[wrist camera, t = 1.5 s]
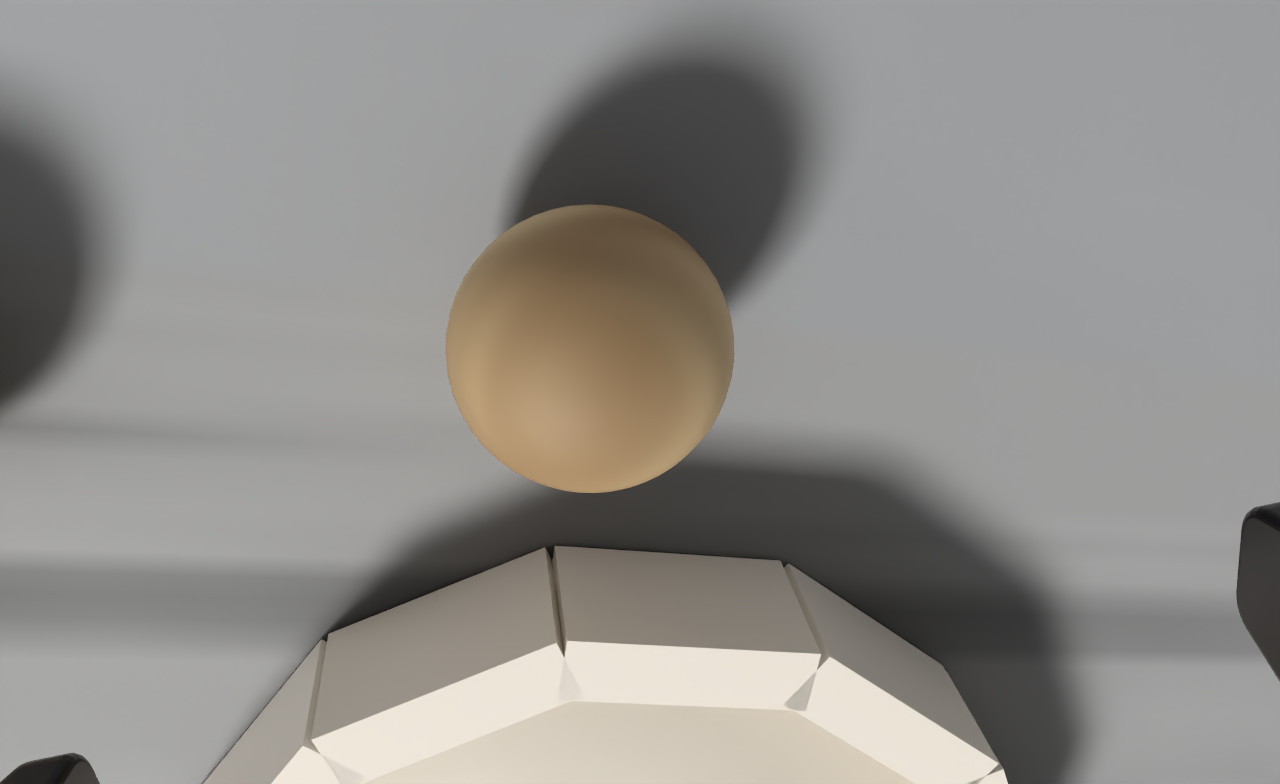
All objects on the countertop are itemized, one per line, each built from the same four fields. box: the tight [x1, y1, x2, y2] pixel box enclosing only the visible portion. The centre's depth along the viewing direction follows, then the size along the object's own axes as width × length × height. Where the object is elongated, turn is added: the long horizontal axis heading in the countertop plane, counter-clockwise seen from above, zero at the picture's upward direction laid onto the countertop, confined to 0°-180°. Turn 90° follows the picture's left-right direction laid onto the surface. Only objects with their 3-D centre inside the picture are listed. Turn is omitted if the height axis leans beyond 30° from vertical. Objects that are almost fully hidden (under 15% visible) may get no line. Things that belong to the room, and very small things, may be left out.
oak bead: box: [446, 204, 734, 493], centre depth 15 cm, size 4×4×4 cm
